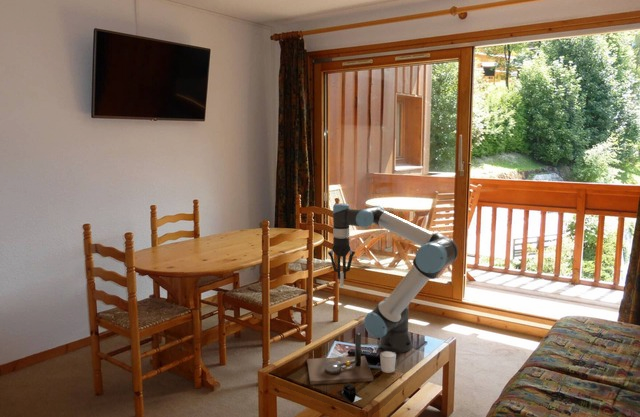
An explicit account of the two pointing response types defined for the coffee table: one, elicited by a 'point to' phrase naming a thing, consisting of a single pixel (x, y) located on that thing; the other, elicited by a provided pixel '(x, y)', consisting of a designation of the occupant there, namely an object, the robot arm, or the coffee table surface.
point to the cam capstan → (335, 366)
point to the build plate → (349, 393)
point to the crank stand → (346, 374)
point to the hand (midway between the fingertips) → (341, 285)
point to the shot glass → (387, 361)
